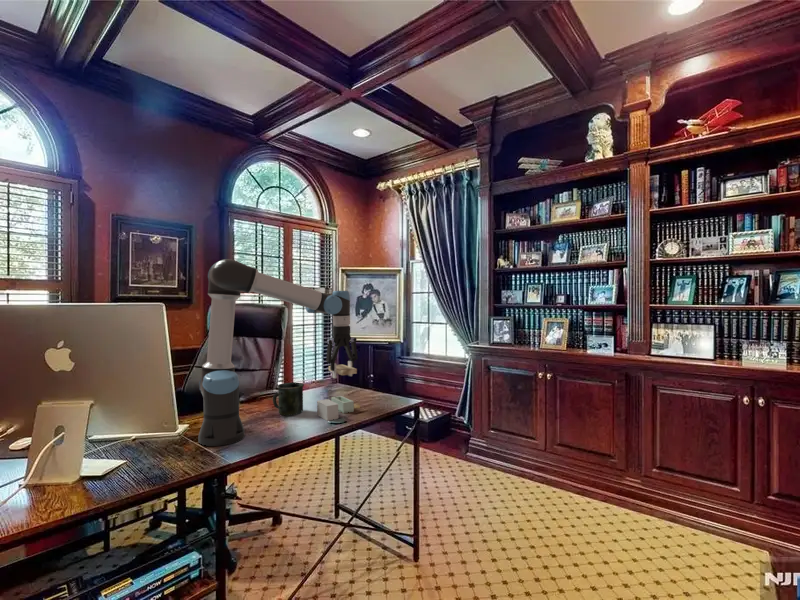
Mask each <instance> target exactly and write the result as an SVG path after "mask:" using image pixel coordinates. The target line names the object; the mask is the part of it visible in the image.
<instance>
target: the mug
mask: <svg viewBox="0 0 800 600" xmlns="http://www.w3.org/2000/svg"><path fill="white" fill-rule="evenodd" d="M277 388H278V389H277V390H278V391H277V392H276V393H274V394H273V396H272V403H273V406H274V407H275V408H276V409H278V414H279V415H281V416H296V415H300V414H302V413H303V410H304V383H303V382H285V383H281V384H278V385H277ZM277 397H278V402H277Z"/></svg>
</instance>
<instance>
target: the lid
mask: <svg viewBox="0 0 800 600" xmlns="http://www.w3.org/2000/svg"><path fill="white" fill-rule="evenodd" d="M336 367H337V369H336V371H337V375H340V376H348V375H349V374H352V375H354V374H355V375H356V374H358V368H355V367H354V368H353V367H349V366H348V365H346V364H336ZM328 371H330V372H331V373H332V371H331V366H330V365H329V366H328Z"/></svg>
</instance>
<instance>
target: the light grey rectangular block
mask: <svg viewBox="0 0 800 600" xmlns="http://www.w3.org/2000/svg"><path fill="white" fill-rule="evenodd" d="M316 402H317V404H316V409H317V410H316V411H317V412H316V413H317V414H316V415H317V416H318V417H320V418H322V419H323V420H325V421H327V422H329V421H333V419H334V420H337V419H339V411H338V404H337V403H335V402H333V401H331V400H330V399H329V398H327V399H326V398H325V399H321V400H317V401H316ZM328 420H329V421H328Z"/></svg>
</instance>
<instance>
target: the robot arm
mask: <svg viewBox="0 0 800 600" xmlns="http://www.w3.org/2000/svg"><path fill="white" fill-rule="evenodd" d="M207 279H208V290H207V295H208V296H209V298H210V299H211V305H210V319H209V329H208V331H209V332H208V343H207V354H206V355H207V356H206V362H204V363H203V364H202V365H201V377H200V380H199V382H198V387H199V391H200V393H201V395H202V398H203V399H202V400H203V401H202V402H203V421H202V424H201V426H200V430H199V433H198V438H197V439H198V440H197V441H198V444H199V443H200V444H199V445H201V444H202V445H201V446H204V445H206V446H205V447H218V446H219V447H221V446H227V445H231V444H235V443H237V442H240V441H241V440H243V439H244V438H245V436H246V435H245V434H246V433H245V428H244V427H245V426H244V425H243V422H242V419H241V416H240V391H239V390H240V379H239V378H240V377H239V374H238V373H237V372H235V370H236V369H235V368H236V367H235V366H236V365H234V363H232V353H233V340H234V339H233V338H234V327H235V316H236V315H235V314H236V303H237V302H236V301H237V300H238V299H239V298H240V297H241V293H246V294H250V293H251V294H252V293H256V294H258V295H262V296H266V297H270V298H273V299H276V300H279V301H283V302H285V303H286V302H287V303H290V304H294V305H296V306H300V307H304V308H305V310H306V312H307V313H308V314H327V315H332V325H333V328H332V330H333V332H332V334H333V336H332V338H330V339H326V343H327V347H326V348H327V349H326V359H325V362H327V363H329V366H331V371H332V372H331V371H330V372H331V373H332V378H333V379H338V378H337V377H338V376H337V375H338V374H337V371H336V369H337V367H336V365H337V362H336V359H337V357H338V354H339V350H340V349H341V347H344V349H345V352H346V354H347V358H348V361H347V366H349V367H353V368H355V363H354V362H355V361H356V360H358V359H359V357H358V349H357V337H352V336H351V326H350V325H351V312H350V311H351V297H350V296H351V295H350V292H349V291H348V290H333V291H332V294H329V293H328V294H327V293H324V292H321V291H319V290H315V289H312V288H309V287H306V286H303V285H299V284H297V283H293V282H290V281H287V280H283V279H281V278H278V277H274V276H271V275H268V274H265V273H262V272H260V271H259V270H258V269H257V267H256V268H255V267H253V266H249V265H248V264H245V263H242V262H240V261H238V260H235V259H231V258H225V259H221V260H219V261H217V262H215V263H214V264H213V265H211V267H210V268H209V270H208V272H207ZM333 343H334V346H333ZM347 376H348V377H353V374H349V375H347Z"/></svg>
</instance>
